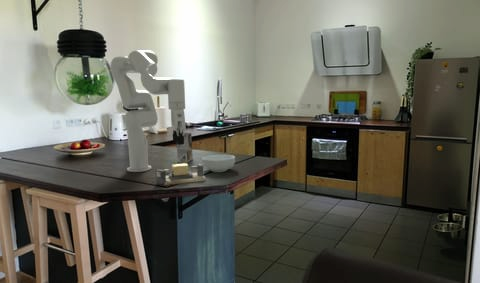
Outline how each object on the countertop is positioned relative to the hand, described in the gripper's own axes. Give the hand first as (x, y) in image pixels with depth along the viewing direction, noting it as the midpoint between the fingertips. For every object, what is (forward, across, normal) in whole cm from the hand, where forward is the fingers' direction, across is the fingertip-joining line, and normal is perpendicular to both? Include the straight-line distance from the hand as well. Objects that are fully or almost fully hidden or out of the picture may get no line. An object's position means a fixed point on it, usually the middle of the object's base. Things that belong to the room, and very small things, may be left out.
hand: (178, 142), depth 168 cm
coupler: (+16, -1, 0) cm, 17 cm away
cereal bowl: (+18, +9, -22) cm, 30 cm away
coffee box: (+18, +40, -11) cm, 46 cm away
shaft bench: (+18, -1, 0) cm, 18 cm away
